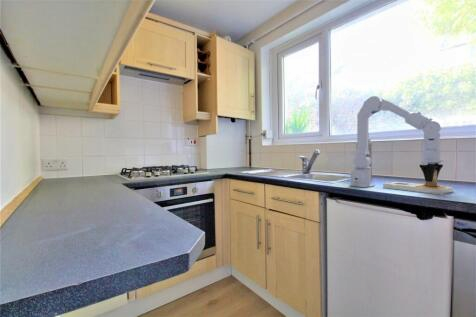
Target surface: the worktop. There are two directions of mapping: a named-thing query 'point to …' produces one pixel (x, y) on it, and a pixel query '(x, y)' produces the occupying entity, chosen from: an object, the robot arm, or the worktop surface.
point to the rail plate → (418, 187)
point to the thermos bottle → (370, 154)
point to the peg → (434, 182)
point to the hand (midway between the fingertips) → (431, 181)
